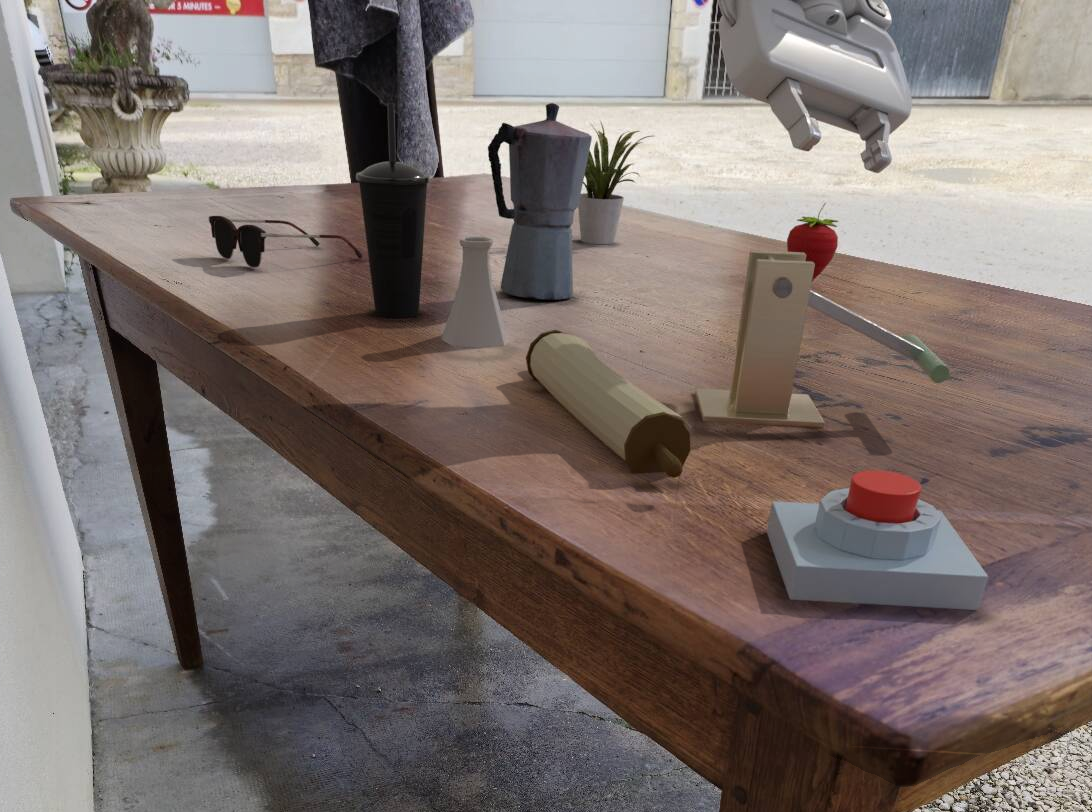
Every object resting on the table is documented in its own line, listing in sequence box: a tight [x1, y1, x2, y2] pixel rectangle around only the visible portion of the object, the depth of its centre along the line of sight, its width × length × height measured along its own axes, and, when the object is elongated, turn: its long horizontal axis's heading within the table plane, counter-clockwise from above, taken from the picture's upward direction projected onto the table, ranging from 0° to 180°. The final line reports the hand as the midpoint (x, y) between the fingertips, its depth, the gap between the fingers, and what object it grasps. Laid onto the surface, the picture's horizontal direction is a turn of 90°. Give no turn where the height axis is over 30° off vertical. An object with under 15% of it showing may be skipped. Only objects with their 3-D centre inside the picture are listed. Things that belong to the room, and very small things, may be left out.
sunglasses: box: [207, 215, 363, 269], centre depth 140 cm, size 14×16×5 cm
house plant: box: [577, 120, 654, 245], centre depth 157 cm, size 14×14×16 cm
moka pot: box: [487, 102, 593, 301], centre depth 121 cm, size 10×15×20 cm, turn 136°
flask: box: [441, 235, 510, 349], centre depth 103 cm, size 7×7×10 cm
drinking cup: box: [355, 102, 431, 319], centre depth 111 cm, size 8×8×20 cm
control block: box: [766, 487, 989, 611], centre depth 64 cm, size 11×10×4 cm
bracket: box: [694, 249, 826, 429], centre depth 86 cm, size 10×8×13 cm
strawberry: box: [786, 202, 839, 282], centre depth 135 cm, size 6×8×10 cm
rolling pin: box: [525, 329, 693, 478], centre depth 84 cm, size 32×6×5 cm, turn 16°
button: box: [845, 470, 922, 524], centre depth 62 cm, size 4×4×2 cm
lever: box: [767, 256, 951, 384], centre depth 85 cm, size 16×10×2 cm, turn 87°
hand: (845, 156), depth 86 cm, fingers open, 8 cm apart
